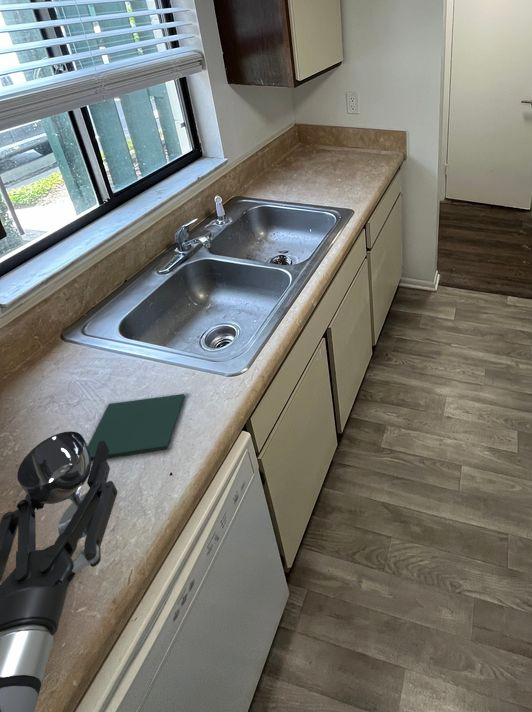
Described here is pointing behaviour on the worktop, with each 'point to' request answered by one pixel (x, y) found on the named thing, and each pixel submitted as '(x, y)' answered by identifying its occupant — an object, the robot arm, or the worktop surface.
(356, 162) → the worktop surface
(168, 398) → the mat
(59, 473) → the wine glass
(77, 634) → the worktop surface
